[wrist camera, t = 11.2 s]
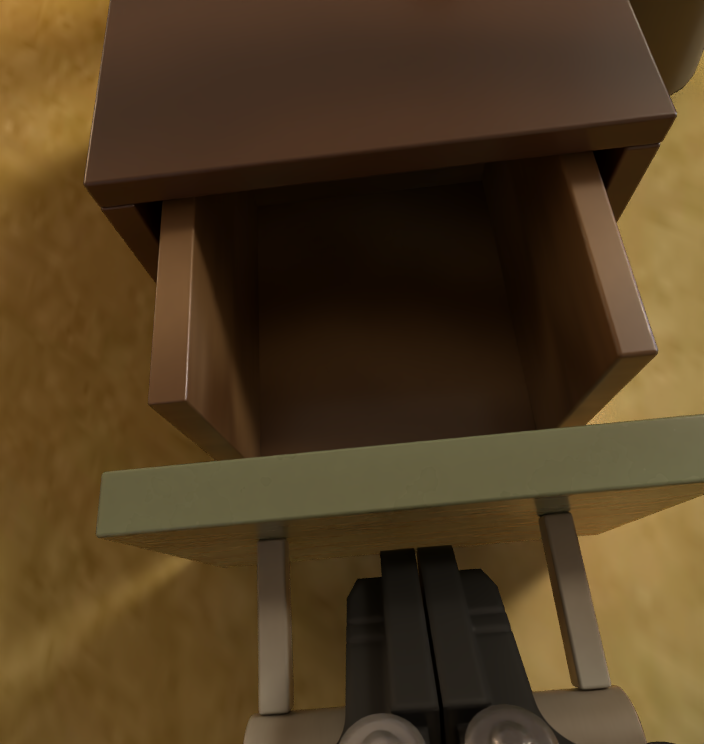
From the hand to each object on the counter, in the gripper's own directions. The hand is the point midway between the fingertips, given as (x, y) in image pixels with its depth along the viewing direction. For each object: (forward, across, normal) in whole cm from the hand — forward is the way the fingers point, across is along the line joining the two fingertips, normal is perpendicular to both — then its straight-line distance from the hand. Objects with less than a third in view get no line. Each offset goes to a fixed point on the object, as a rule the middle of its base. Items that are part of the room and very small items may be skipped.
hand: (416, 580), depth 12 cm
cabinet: (+15, 0, -7) cm, 17 cm away
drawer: (+7, 0, 0) cm, 7 cm away
